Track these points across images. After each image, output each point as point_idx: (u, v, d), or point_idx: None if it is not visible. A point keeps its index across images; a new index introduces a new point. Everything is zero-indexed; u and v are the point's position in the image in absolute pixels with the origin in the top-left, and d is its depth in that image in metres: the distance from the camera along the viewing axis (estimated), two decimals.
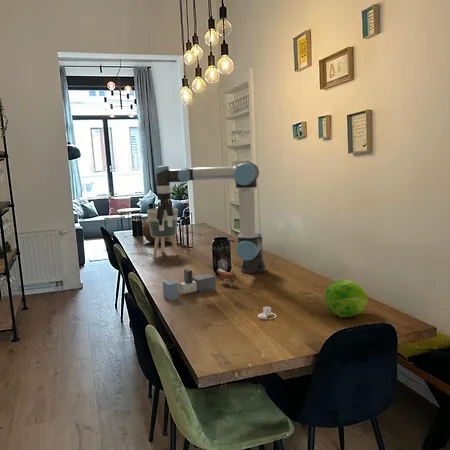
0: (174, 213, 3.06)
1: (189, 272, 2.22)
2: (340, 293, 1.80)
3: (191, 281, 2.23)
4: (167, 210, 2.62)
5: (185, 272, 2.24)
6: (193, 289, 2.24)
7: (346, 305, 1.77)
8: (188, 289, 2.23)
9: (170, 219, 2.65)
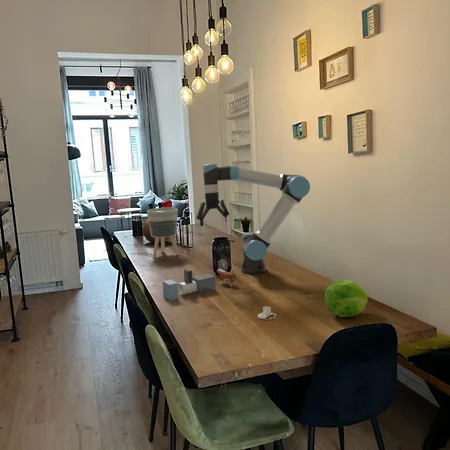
0: (174, 213, 3.06)
1: (189, 272, 2.22)
2: (340, 293, 1.80)
3: (191, 281, 2.23)
4: (219, 210, 2.47)
5: (185, 272, 2.24)
6: (193, 289, 2.24)
7: (346, 305, 1.77)
8: (188, 289, 2.23)
9: (223, 220, 2.49)
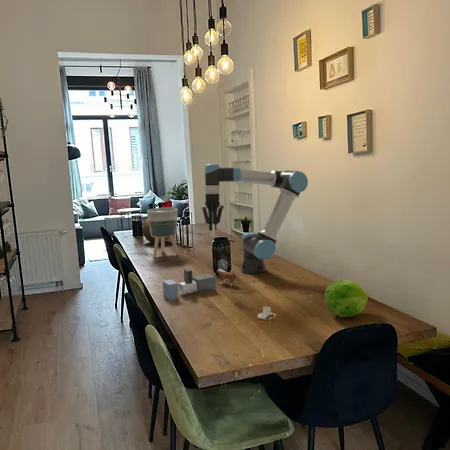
0: (174, 213, 3.06)
1: (189, 272, 2.22)
2: (340, 293, 1.80)
3: (191, 281, 2.23)
4: (213, 215, 2.38)
5: (185, 272, 2.24)
6: (193, 289, 2.24)
7: (346, 305, 1.77)
8: (188, 289, 2.23)
9: None
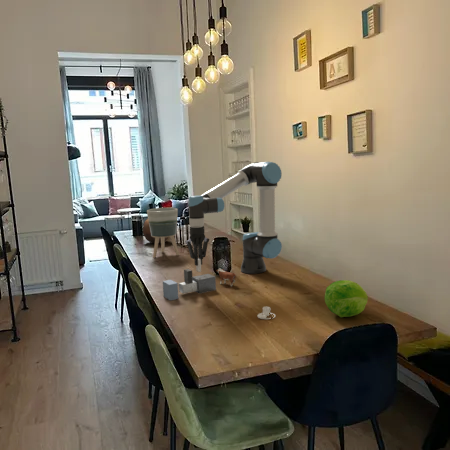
0: (174, 213, 3.06)
1: (189, 272, 2.22)
2: (340, 293, 1.80)
3: (191, 281, 2.23)
4: (198, 249, 2.26)
5: (185, 272, 2.24)
6: (193, 289, 2.24)
7: (346, 305, 1.77)
8: (188, 289, 2.23)
9: None
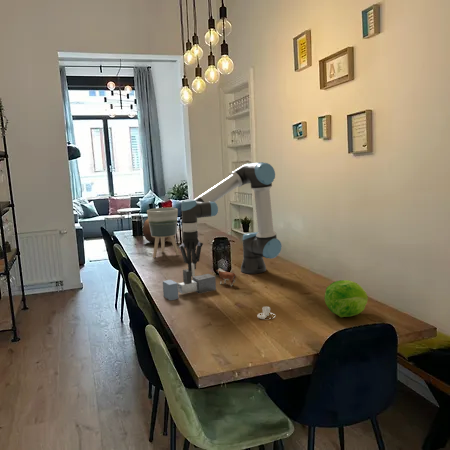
0: (174, 213, 3.06)
1: (188, 272, 2.22)
2: (340, 293, 1.80)
3: (190, 281, 2.23)
4: (192, 253, 2.24)
5: (184, 272, 2.23)
6: (192, 289, 2.24)
7: (346, 305, 1.77)
8: (187, 289, 2.22)
9: None
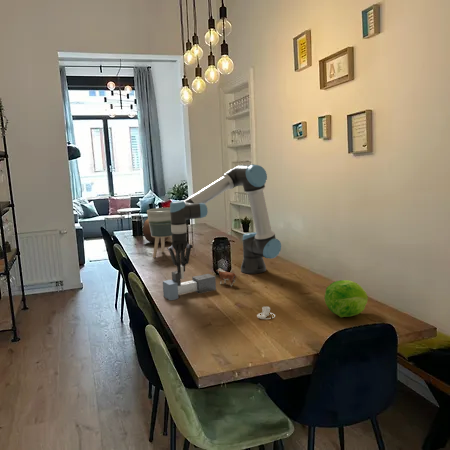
0: None
1: (177, 274, 2.19)
2: (340, 293, 1.80)
3: (179, 283, 2.20)
4: (181, 255, 2.21)
5: (173, 274, 2.20)
6: (181, 292, 2.21)
7: (346, 305, 1.77)
8: None
9: None
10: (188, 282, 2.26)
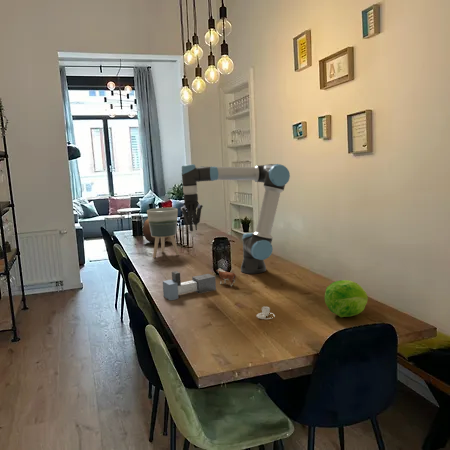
0: (174, 213, 3.06)
1: (177, 274, 2.19)
2: (340, 293, 1.80)
3: (179, 283, 2.20)
4: (193, 215, 2.38)
5: (173, 274, 2.20)
6: (181, 292, 2.21)
7: (346, 305, 1.77)
8: None
9: None
10: (188, 282, 2.26)
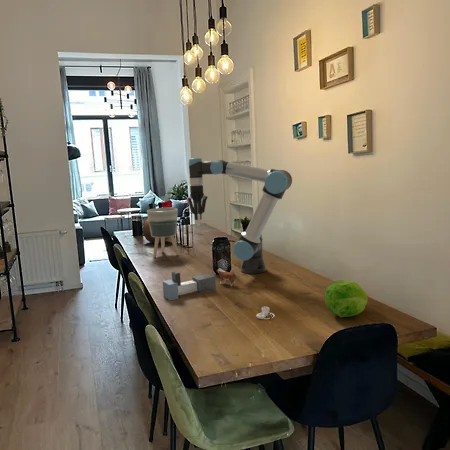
0: (174, 213, 3.06)
1: (177, 274, 2.19)
2: (340, 293, 1.80)
3: (179, 283, 2.20)
4: (198, 205, 2.57)
5: (173, 274, 2.20)
6: (181, 292, 2.21)
7: (346, 305, 1.77)
8: None
9: None
10: (188, 282, 2.26)
